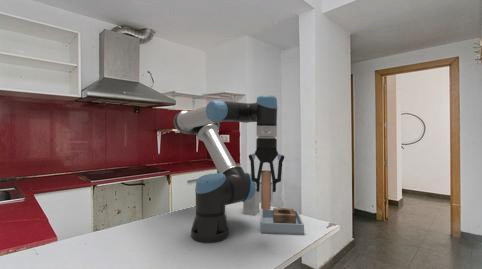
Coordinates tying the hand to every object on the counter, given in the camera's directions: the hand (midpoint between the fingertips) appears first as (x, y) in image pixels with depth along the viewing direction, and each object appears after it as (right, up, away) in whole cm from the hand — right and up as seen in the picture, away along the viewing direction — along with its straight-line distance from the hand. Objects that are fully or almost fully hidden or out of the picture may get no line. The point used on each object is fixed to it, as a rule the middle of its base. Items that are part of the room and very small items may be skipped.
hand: (265, 200), depth 89 cm
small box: (-4, -15, +32) cm, 36 cm away
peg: (0, -3, 0) cm, 3 cm away
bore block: (+10, -15, +15) cm, 23 cm away
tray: (+8, -15, +15) cm, 23 cm away
